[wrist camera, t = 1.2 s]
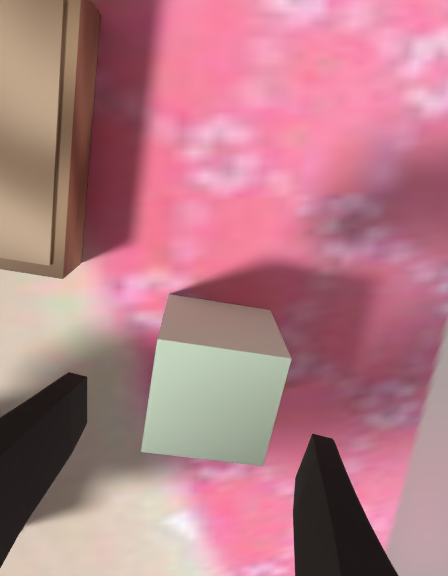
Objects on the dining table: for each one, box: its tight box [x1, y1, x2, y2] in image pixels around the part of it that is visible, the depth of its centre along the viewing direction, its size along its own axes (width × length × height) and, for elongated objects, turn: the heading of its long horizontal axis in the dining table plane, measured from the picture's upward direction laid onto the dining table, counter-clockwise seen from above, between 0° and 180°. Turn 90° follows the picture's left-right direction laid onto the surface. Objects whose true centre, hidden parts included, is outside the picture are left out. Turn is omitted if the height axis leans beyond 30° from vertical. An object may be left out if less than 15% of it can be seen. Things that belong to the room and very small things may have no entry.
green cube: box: [141, 294, 292, 466], centre depth 21 cm, size 6×6×6 cm
